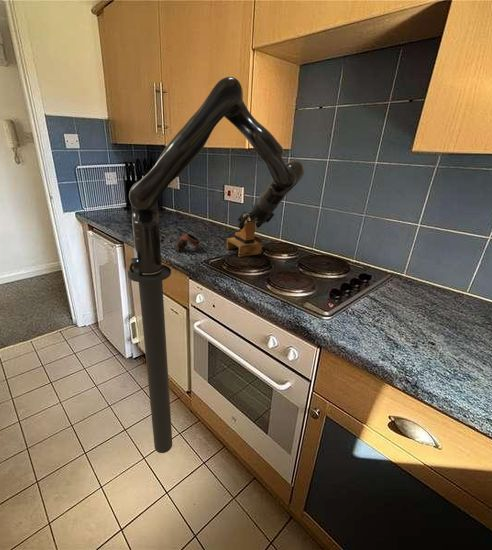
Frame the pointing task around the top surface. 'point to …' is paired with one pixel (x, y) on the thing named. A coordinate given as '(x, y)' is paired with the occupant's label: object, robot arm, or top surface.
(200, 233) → the top surface
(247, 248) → the tan wooden block
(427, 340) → the top surface
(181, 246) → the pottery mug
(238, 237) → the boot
